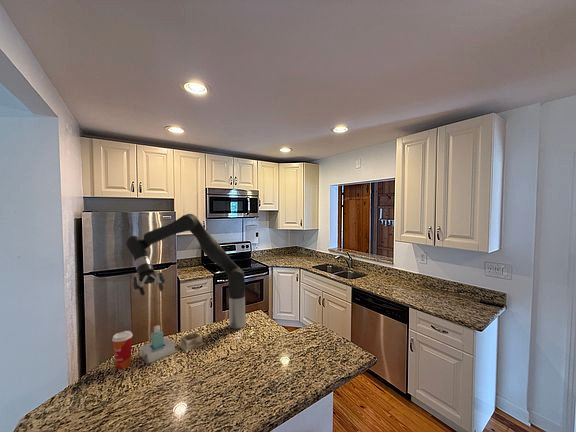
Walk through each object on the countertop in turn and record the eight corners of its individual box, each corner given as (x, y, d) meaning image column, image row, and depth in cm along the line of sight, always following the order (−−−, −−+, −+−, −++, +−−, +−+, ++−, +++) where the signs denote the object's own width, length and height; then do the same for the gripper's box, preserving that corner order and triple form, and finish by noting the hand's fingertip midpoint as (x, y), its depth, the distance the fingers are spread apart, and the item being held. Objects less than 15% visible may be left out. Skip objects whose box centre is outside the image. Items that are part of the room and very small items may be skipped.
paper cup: (111, 365, 113) (110, 334, 113) (131, 358, 119) (130, 328, 118) (115, 373, 108) (114, 340, 107) (135, 365, 113) (134, 334, 113)
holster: (195, 338, 137) (195, 330, 137) (205, 344, 130) (205, 336, 130) (177, 345, 129) (176, 337, 129) (186, 353, 122) (186, 344, 122)
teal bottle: (160, 350, 124) (159, 323, 123) (163, 353, 121) (163, 326, 121) (151, 354, 121) (150, 326, 120) (154, 357, 118) (154, 329, 118)
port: (166, 346, 128) (166, 337, 128) (175, 354, 122) (174, 344, 121) (140, 357, 120) (139, 346, 120) (147, 365, 113) (147, 355, 113)
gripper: (130, 264, 131) (139, 291, 123) (160, 260, 141) (169, 285, 134) (127, 273, 134) (135, 300, 127) (156, 268, 145) (165, 293, 137)
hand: (152, 292), depth 130 cm, fingers open, 8 cm apart
